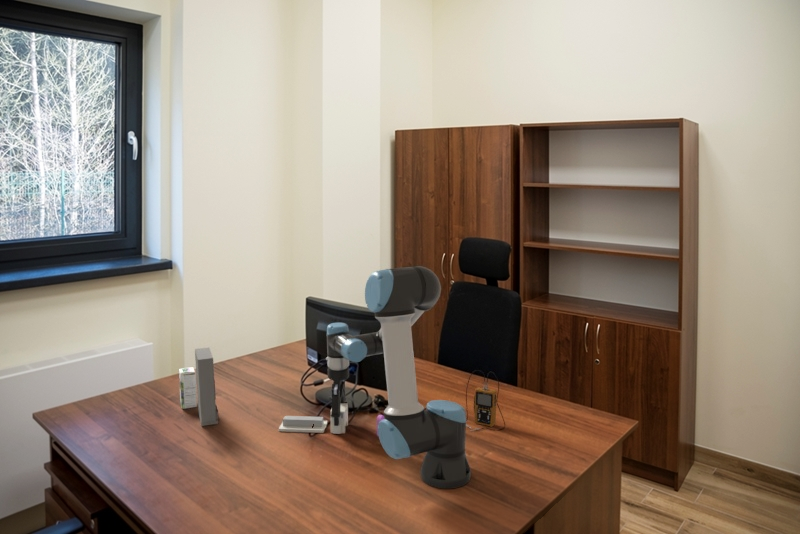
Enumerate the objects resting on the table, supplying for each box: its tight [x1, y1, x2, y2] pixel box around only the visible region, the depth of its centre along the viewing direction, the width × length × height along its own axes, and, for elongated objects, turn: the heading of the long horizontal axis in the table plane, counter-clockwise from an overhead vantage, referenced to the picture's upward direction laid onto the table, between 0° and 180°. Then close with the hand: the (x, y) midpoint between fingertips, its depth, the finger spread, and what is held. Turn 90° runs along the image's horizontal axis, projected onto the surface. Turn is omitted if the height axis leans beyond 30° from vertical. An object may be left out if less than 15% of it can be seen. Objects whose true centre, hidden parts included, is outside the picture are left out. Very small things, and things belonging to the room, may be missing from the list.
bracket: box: [376, 414, 385, 437], centre depth 231 cm, size 13×6×7 cm, turn 161°
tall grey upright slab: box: [194, 347, 219, 427], centre depth 239 cm, size 14×6×25 cm, turn 22°
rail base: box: [277, 415, 328, 434], centre depth 233 cm, size 16×8×4 cm, turn 86°
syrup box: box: [178, 366, 198, 410], centre depth 252 cm, size 6×6×14 cm
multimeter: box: [465, 369, 506, 432], centre depth 230 cm, size 15×10×20 cm
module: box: [329, 402, 349, 434], centre depth 231 cm, size 5×8×8 cm, turn 176°
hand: (339, 427), depth 232 cm, fingers open, 8 cm apart
